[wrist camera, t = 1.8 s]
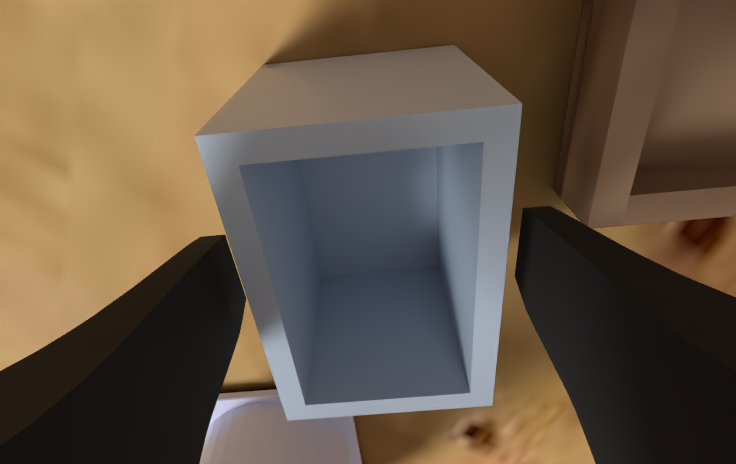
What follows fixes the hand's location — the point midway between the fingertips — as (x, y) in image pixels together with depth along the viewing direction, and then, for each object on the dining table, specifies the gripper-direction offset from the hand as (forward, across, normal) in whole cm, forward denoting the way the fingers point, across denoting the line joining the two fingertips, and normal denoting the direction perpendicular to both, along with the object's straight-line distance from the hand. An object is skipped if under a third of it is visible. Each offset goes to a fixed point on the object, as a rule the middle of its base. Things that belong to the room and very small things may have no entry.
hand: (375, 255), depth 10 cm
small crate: (+4, 0, 0) cm, 4 cm away
